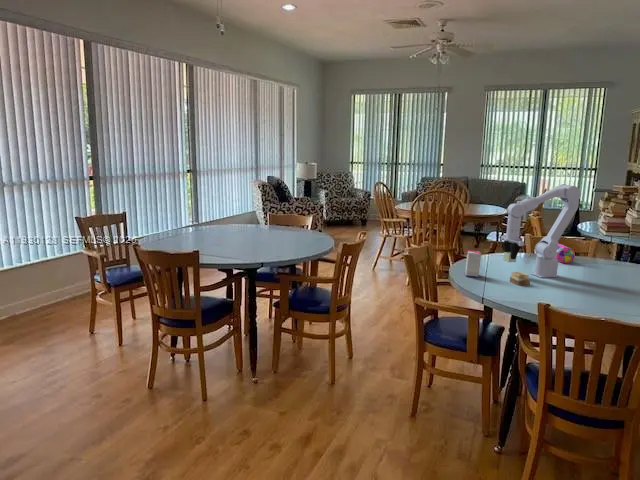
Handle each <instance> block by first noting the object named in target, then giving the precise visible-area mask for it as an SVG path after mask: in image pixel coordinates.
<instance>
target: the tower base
mask: <svg viewBox="0 0 640 480" xmlns="http://www.w3.org/2000/svg"><path fill="white" fill-rule="evenodd" d="M509 283H512V284H514V285H517V286H519V287H520V286H530V284H531V280H530V279H528V280H523V281H518V280H515V279H513V278H511V276H510V277H509Z"/></svg>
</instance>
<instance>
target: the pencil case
mask: <svg viewBox="0 0 640 480" xmlns="http://www.w3.org/2000/svg"><path fill="white" fill-rule="evenodd" d="M558 245H559V247H558V248H557V253H556V255H555V256H554V257H555V258H556V259H557V260H558V262H559V263H563V264H570V263H571V262H573V261H574V260H575V256H576V255H575V251H574V249H573V248H571V247H568V246H566V245H564V244H561V243H558Z"/></svg>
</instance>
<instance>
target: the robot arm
mask: <svg viewBox="0 0 640 480" xmlns="http://www.w3.org/2000/svg"><path fill="white" fill-rule="evenodd" d="M581 196H582V194H581V190H580V189H579V187H578V186H575V185H569V184H560V185H557V186H555V187H552V188H551V189H550V190H547V191H546V192H543V193H542V194H539V195H538V196H529V195H528V196H526V198H525V199H524V198H523V199H522V200H518V201H516V203H510V204H509V205H508V207H507V208H506V213H507V214H508V216H507V224H506V233H505V235H501V236H500V242H501V245H502V248H503V251H504V252H511V259H516V260H517V257H518V254H519V251H520V250H521V249H522V247H524V245H525V244H524V243H525V241H523V240H521V239H520V232H521V224H522V223H521V221H522V217H523V215H524V214H525V213H527V212H530V211H532V210H535V209H537V208H538V206H539V204H542V203H545V202H546V201H549V200H552V199H555V198H558V199H560V200H561V201H562V204H563V208H562V209H561V211H560V213H559V214H558V216H557V218H556V220H555V221H554V222H553V225H552V227H551V228H550V230H549V231H548V232H547V235H546V236H544V237H542V238H541V240H540V241H539V242H537V243H536V245H535V246H534V250H535V252H536V258H535V259H536V260H535V266H534V271H533V272H530V274H531V275H534V276H535V277H539V278H541V279H542V278H558V277H559V276H558V269H559V261H558V260H557V259H556V258H555V257H554V256H555V255H556V253H557V248H558V247H559V245H558V244H559V240H560V239H561V237H562V236H563V233H564V232H565V230H566V228H567V227H568V225H569V224H570V222H571V220H572V219H573V217H574V216H575V214H576V212H577V211H578V208H579V203H580V197H581ZM504 252H503V253H504ZM516 256H517V257H516Z"/></svg>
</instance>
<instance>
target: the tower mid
mask: <svg viewBox="0 0 640 480" xmlns="http://www.w3.org/2000/svg"><path fill="white" fill-rule="evenodd" d="M529 276H530V275H529V274H528V273H525V272H523V271H514V272H513V271H511V276H510V277H511V278H513V279H515V280H518V281H523V280H529Z"/></svg>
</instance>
